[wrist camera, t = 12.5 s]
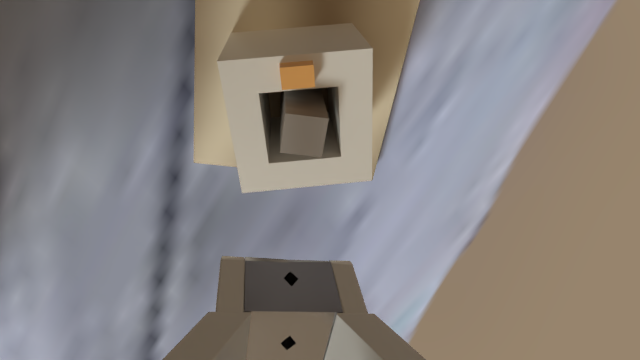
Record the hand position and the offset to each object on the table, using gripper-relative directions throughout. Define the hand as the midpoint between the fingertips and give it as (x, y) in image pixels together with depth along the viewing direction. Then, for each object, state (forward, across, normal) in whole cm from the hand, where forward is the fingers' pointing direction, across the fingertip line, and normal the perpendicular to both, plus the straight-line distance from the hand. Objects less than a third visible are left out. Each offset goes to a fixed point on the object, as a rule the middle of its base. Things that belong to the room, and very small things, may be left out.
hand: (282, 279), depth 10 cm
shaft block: (+14, -2, -1) cm, 14 cm away
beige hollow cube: (+13, -1, -1) cm, 13 cm away
